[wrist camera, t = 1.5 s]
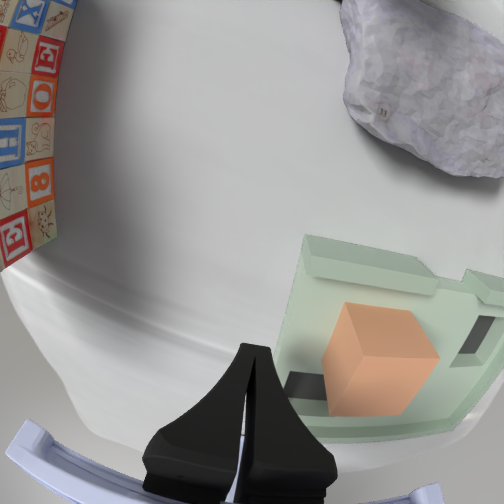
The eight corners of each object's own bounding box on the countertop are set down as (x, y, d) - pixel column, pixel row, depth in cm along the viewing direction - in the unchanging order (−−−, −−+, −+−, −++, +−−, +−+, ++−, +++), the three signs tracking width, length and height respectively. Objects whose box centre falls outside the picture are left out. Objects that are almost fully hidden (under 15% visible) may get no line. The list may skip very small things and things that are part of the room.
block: (382, 365, 16) (400, 415, 12) (321, 360, 16) (329, 416, 12) (409, 310, 14) (440, 358, 10) (344, 301, 15) (363, 355, 10)
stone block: (475, 174, 15) (490, 52, 9) (512, 200, 11) (531, 53, 5) (327, 137, 16) (336, -6, 10) (339, 153, 12) (350, -35, 6)
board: (443, 409, 21) (452, 430, 18) (257, 409, 21) (254, 438, 18) (520, 283, 15) (541, 300, 12) (304, 234, 15) (311, 255, 13)
